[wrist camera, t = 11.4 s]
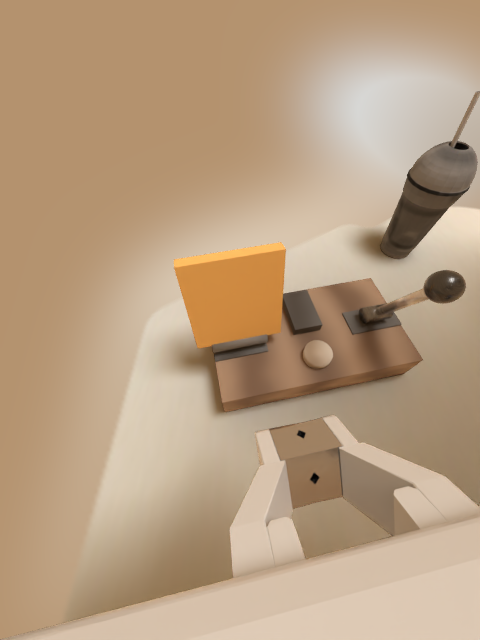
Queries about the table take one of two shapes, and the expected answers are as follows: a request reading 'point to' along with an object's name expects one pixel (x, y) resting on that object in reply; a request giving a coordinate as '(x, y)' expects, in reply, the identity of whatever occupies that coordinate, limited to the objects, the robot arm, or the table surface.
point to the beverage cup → (430, 191)
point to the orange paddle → (233, 295)
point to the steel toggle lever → (420, 296)
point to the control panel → (316, 348)
